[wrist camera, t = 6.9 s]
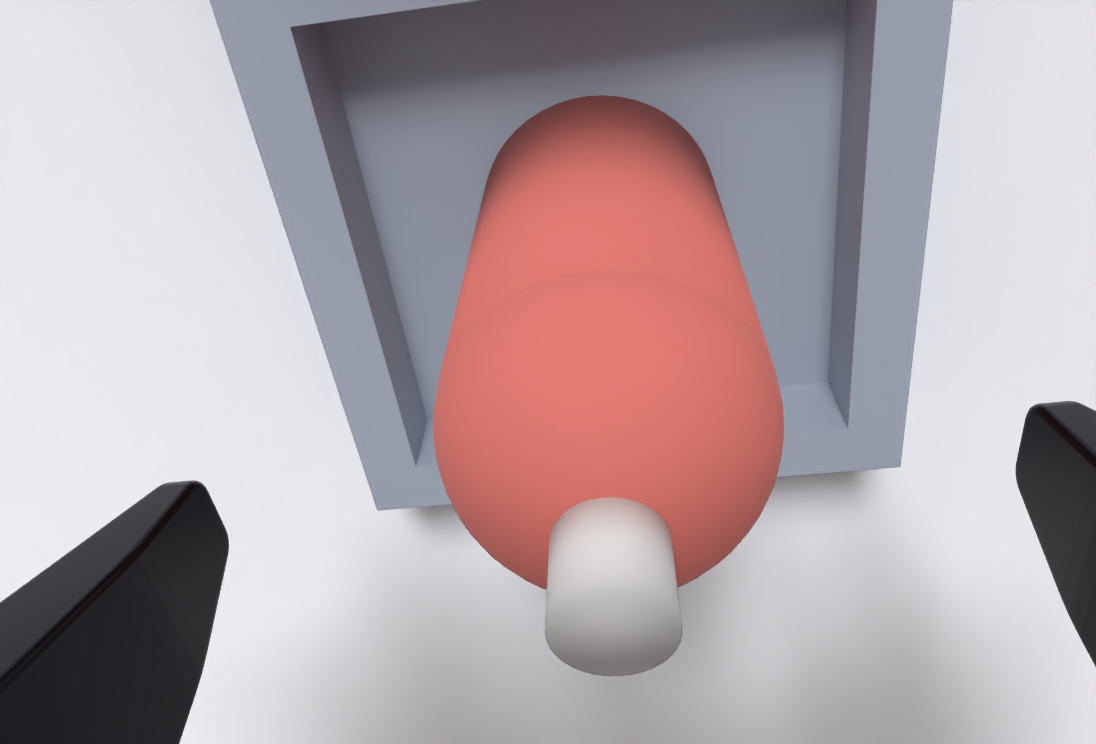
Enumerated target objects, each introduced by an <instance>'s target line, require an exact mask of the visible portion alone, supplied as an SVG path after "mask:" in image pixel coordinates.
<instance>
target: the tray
mask: <svg viewBox="0 0 1096 744" xmlns="http://www.w3.org/2000/svg"><path fill="white" fill-rule="evenodd" d="M210 3H211V6H212V9H213V12H214V15H215V18H216V21H217V24H218V27H219V30H220V33H221V36H222V39H223V42H224V45H225V48H226V52H227V55H228V58H229V61H230V64H231V67H232V70H233V73H234V76H235V79H236V82H237V85H238V88H239V91H240V94H241V97H242V100H243V103H244V106H245V109H246V112H247V115H248V118H249V121H250V125H251V128H252V131H253V134H254V137H255V140H256V143H257V146H258V149H259V152H260V155H261V158H262V161H263V164H264V167H265V170H266V173H267V176H268V179H269V182H270V185H271V188H272V191H273V194H274V197H275V201H276V204H277V207H278V210H279V213H280V216H281V219H282V222H283V225H284V228H285V231H286V234H287V237H288V240H289V243H290V246H291V249H292V252H293V255H294V258H295V261H296V264H297V267H298V270H299V274H300V277H301V280H302V283H303V286H304V289H305V292H306V295H307V298H308V301H309V304H310V307H311V310H312V313H313V316H314V319H315V322H316V325H317V328H318V331H319V334H320V337H321V340H322V343H323V347H324V350H325V353H326V356H327V359H328V362H329V365H330V368H331V371H332V374H333V377H334V380H335V383H336V386H337V389H338V392H339V395H340V398H341V401H342V404H343V407H344V410H345V413H346V416H347V420H348V423H349V426H350V429H351V432H352V435H353V438H354V441H355V444H356V447H357V450H358V453H359V456H360V459H361V462H362V465H363V468H364V471H365V474H366V477H367V480H368V483H369V486H370V489H371V492H372V496H373V499H374V502H375V505H376V508H377V511H378V510H390V509H402V508H414V507H426V506H438V505H450V504H452V503H451V501H450V499H449V497H448V495H447V493H446V490H445V487H444V484H443V481H442V478H441V475H440V472H439V468H438V465H437V459H436V454H435V448H434V437H433V412H434V404H435V398H436V391H437V385H438V380H439V376H440V372H441V368H442V364H443V360H444V356H445V351H446V347H447V343H448V339H449V335H450V331H451V327H452V322H453V318H454V314H455V310H456V306H457V302H458V298H459V293H460V289H461V285H462V281H463V277H464V273H465V269H466V265H467V260H468V256H469V252H470V248H471V244H472V240H473V236H474V231H475V227H476V223H477V219H478V215H479V211H480V207H481V202H482V198H483V194H484V190H485V186H486V182H487V178H488V175H489V172H490V169H491V166H492V164H493V162H494V160H495V158H496V156H497V154H498V152H499V151H500V149H501V148H502V146H503V145H504V143H505V142H506V141H507V140H508V138H509V137H510V136H511V135H512V134H513V133H514V132H515V130H516V129H518V128H519V127H520V126H521V125H522V124H523V123H525V122H526V121H527V120H528V119H530V118H531V117H533V116H534V115H536V114H537V113H539V112H540V111H542V110H544V109H546V108H549V107H551V106H553V105H555V104H557V103H561V102H564V101H567V100H570V99H574V98H580V97H585V96H599V95H606V96H619V97H624V98H629V99H633V100H637V101H640V102H642V103H645V104H648V105H651V106H653V107H655V108H656V109H658V110H660V111H662V112H664V113H666V114H667V115H668V116H670V117H671V118H673V119H674V120H675V121H677V122H678V123H679V124H680V125H681V126H682V127H683V128H684V129H685V130H686V131H687V132H689V134H690V135H691V136H692V138H693V139H694V140H695V141H696V143H697V144H698V145H699V147H700V149H701V151H702V152H703V154H704V156H705V158H706V160H707V163H708V165H709V168H710V170H711V173H712V176H713V179H714V182H715V186H716V189H717V192H718V195H719V198H720V201H721V204H722V207H723V210H724V213H725V217H726V220H727V223H728V226H729V229H730V232H731V235H732V238H733V241H734V244H735V248H736V251H737V254H738V257H739V260H740V263H741V266H742V269H743V272H744V275H745V279H746V282H747V285H748V288H749V291H750V294H751V297H752V300H753V303H754V306H755V310H756V313H757V316H758V319H759V322H760V325H761V328H762V331H763V334H764V337H765V340H766V344H767V347H768V350H769V353H770V356H771V359H772V362H773V365H774V368H775V371H776V375H777V380H778V384H779V388H780V393H781V398H782V403H783V415H784V440H783V449H782V457H781V461H780V465H779V469H778V473H777V477H785V476H797V475H809V474H821V473H833V472H845V471H857V470H869V469H881V468H893V467H900V465H901V456H902V447H903V439H904V430H905V421H906V412H907V403H908V394H909V386H910V377H911V368H912V359H913V350H914V341H915V333H916V324H917V315H918V306H919V297H920V288H921V280H922V271H923V262H924V253H925V244H926V235H927V227H928V218H929V209H930V200H931V191H932V182H933V174H934V165H935V156H936V147H937V138H938V130H939V121H940V112H941V103H942V94H943V85H944V77H945V68H946V59H947V50H948V41H949V32H950V24H951V15H952V6H953V0H210Z"/></svg>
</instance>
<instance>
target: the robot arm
mask: <svg viewBox="0 0 1096 744" xmlns="http://www.w3.org/2000/svg"><path fill="white" fill-rule="evenodd" d="M1016 480H1017V484H1018V488H1019V491H1020V493H1021V496H1022V498H1023V501H1024V504H1025V506H1026V509H1027V511H1028V514H1029V516H1030V519H1031V521H1032V524H1033V527H1034V529H1035V532H1036V534H1037V537H1038V539H1039V542H1040V545H1041V547H1042V550H1043V552H1044V555H1045V557H1046V560H1047V562H1048V565H1049V568H1050V570H1051V573H1052V575H1053V578H1054V580H1055V583H1056V586H1057V588H1058V591H1059V593H1060V596H1061V598H1062V600H1063V603H1064V605H1065V607H1066V610H1067V612H1068V614H1069V616H1070V618H1071V620H1072V622H1073V624H1074V626H1075V628H1076V630H1077V632H1078V634H1079V636H1080V638H1081V640H1082V642H1083V644H1084V646H1085V648H1086V649H1087V651H1088V653H1089V655H1090V657H1091V659H1092V661H1093V662H1094V664H1095V666H1096V411H1095V410H1093V409H1091V408H1089V407H1087V406H1085V405H1082V404H1080V403H1078V402H1074V401H1063V402H1052V403H1041V404H1036V405H1034V406H1033V407H1031V408H1030V409H1029V411H1028V413H1027V415H1026V418H1025V423H1024V428H1023V433H1022V438H1021V443H1020V447H1019V452H1018V457H1017V462H1016ZM228 551H229V540H228V535H227V532H226V529H225V527H224V525H223V522H222V520H221V518H220V516H219V514H218V512H217V510H216V507H215V505H214V503H213V501H212V499H211V497H210V495H209V492H208V491H207V489H206V487H205V486H204V485H203V484H202V483H200V482H198V481H194V480H193V481H181V482H170V483H165V484H162V485H161V486H159V487H158V488H156V489H155V490H153V491H152V492H151V493H149V494H148V495H147V496H145V497H144V498H142V499H141V500H140V501H138V502H137V503H136V504H134V505H133V506H132V507H130V508H129V509H127V510H126V511H125V512H123V513H122V514H121V515H119V516H118V517H116V518H115V519H114V520H112V521H111V522H110V523H108V524H107V525H106V526H104V527H103V528H101V529H100V530H99V531H97V532H96V533H95V534H93V535H92V536H91V537H89V538H88V539H86V540H85V541H84V542H82V543H81V544H80V545H78V546H77V547H75V548H74V549H73V550H71V551H70V552H69V553H67V554H66V555H65V556H63V557H62V558H60V559H59V560H58V561H56V562H55V563H54V564H52V565H51V566H50V567H48V568H47V569H45V570H44V571H43V572H41V573H40V574H39V575H37V576H36V577H34V578H33V579H32V580H30V581H29V582H28V583H26V584H25V585H24V586H22V587H21V588H19V589H18V590H17V591H15V592H14V593H13V594H11V595H10V596H9V597H7V598H6V599H4V600H3V601H2V602H0V744H179V742H180V739H181V736H182V733H183V730H184V727H185V724H186V721H187V718H188V715H189V712H190V709H191V706H192V703H193V700H194V697H195V694H196V691H197V688H198V685H199V681H200V678H201V675H202V671H203V667H204V663H205V659H206V655H207V651H208V646H209V641H210V637H211V632H212V627H213V623H214V618H215V613H216V609H217V604H218V599H219V595H220V590H221V585H222V581H223V576H224V571H225V567H226V562H227V557H228Z"/></svg>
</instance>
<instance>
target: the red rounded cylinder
mask: <svg viewBox="0 0 1096 744" xmlns="http://www.w3.org/2000/svg"><path fill="white" fill-rule="evenodd" d="M433 437H434V448H435V454H436V459H437V465H438V468H439V472H440V475H441V478H442V481H443V484H444V487H445V490H446V493H447V495H448V497H449V499H450V501H451V503H452V505H453V507H454V509H455V510H456V512H457V514H458V516H459V518H460V519H461V521H462V523H463V524H464V525H465V527H466V528H467V530H468V531H469V532H470V534H471V535H472V536H473V537H474V538H475V539H476V541H477V542H478V543H479V544H480V545H481V546H482V547H483V548H484V549H485V550H486V551H487V552H488V553H489V554H490V555H491V556H492V557H493V558H494V559H495V560H497V561H498V562H499V563H500V564H502V565H503V566H504V567H506V568H507V569H509V570H510V571H512V572H514V573H515V574H517V575H518V576H520V577H522V578H523V579H525V580H526V581H528V582H530V583H532V584H534V585H537V586H539V587H541V588H543V589H546V590H547V600H546V622H545V636H546V640H547V643H548V645H549V647H550V649H551V650H552V651H553V653H554V654H555V655H556V656H557V657H558V658H559V659H560V660H562V661H563V662H564V663H566V664H568V665H569V666H571V667H573V668H575V669H578V670H581V671H583V672H587V673H591V674H595V675H602V676H625V675H632V674H637V673H640V672H644V671H647V670H649V669H652V668H654V667H656V666H658V665H660V664H661V663H663V662H664V661H666V660H667V659H668V658H669V657H670V656H671V655H672V654H673V653H674V652H675V650H676V649H677V647H678V646H679V643H680V641H681V637H682V624H681V615H680V607H679V598H678V589H677V587H680V586H682V585H684V584H686V583H688V582H690V581H692V580H694V579H696V578H697V577H699V576H700V575H702V574H703V573H705V572H706V571H708V570H709V569H711V568H712V567H714V566H715V565H716V564H718V563H719V562H720V561H721V560H723V559H724V558H725V557H726V556H727V555H728V554H730V553H731V552H732V551H733V549H734V548H735V547H736V546H737V545H738V544H739V543H740V542H741V540H742V539H743V538H744V537H745V536H746V535H747V533H748V532H749V531H750V530H751V528H752V527H753V525H754V524H755V522H756V521H757V519H758V518H759V516H760V514H761V512H762V510H763V508H764V506H765V504H766V502H767V500H768V498H769V496H770V494H771V491H772V489H773V487H774V483H775V480H776V477H777V473H778V469H779V465H780V461H781V457H782V449H783V440H784V415H783V403H782V398H781V393H780V388H779V384H778V380H777V375H776V371H775V368H774V365H773V362H772V359H771V356H770V353H769V350H768V347H767V344H766V340H765V337H764V334H763V331H762V328H761V325H760V322H759V319H758V316H757V313H756V310H755V306H754V303H753V300H752V297H751V294H750V291H749V288H748V285H747V282H746V279H745V275H744V272H743V269H742V266H741V263H740V260H739V257H738V254H737V251H736V248H735V244H734V241H733V238H732V235H731V232H730V229H729V226H728V223H727V220H726V217H725V213H724V210H723V207H722V204H721V201H720V198H719V195H718V192H717V189H716V186H715V182H714V179H713V176H712V173H711V170H710V168H709V165H708V163H707V160H706V158H705V156H704V154H703V152H702V151H701V149H700V147H699V145H698V144H697V143H696V141H695V140H694V139H693V138H692V136H691V135H690V134H689V132H687V131H686V130H685V129H684V128H683V127H682V126H681V125H680V124H679V123H678V122H677V121H675V120H674V119H673V118H671V117H670V116H668V115H667V114H666V113H664V112H662V111H660V110H658V109H656V108H655V107H653V106H651V105H648V104H645V103H642V102H640V101H637V100H633V99H629V98H624V97H619V96H606V95H599V96H585V97H580V98H574V99H570V100H567V101H564V102H561V103H557V104H555V105H553V106H551V107H549V108H546V109H544V110H542V111H540V112H539V113H537V114H536V115H534V116H533V117H531V118H530V119H528V120H527V121H526V122H525V123H523V124H522V125H521V126H520V127H519V128H518V129H516V130H515V132H514V133H513V134H512V135H511V136H510V137H509V138H508V140H507V141H506V142H505V143H504V145H503V146H502V148H501V149H500V151H499V152H498V154H497V156H496V158H495V160H494V162H493V164H492V166H491V169H490V172H489V175H488V178H487V182H486V186H485V190H484V194H483V198H482V202H481V207H480V211H479V215H478V219H477V223H476V227H475V231H474V236H473V240H472V244H471V248H470V252H469V256H468V260H467V265H466V269H465V273H464V277H463V281H462V285H461V289H460V293H459V298H458V302H457V306H456V310H455V314H454V318H453V322H452V327H451V331H450V335H449V339H448V343H447V347H446V351H445V356H444V360H443V364H442V368H441V372H440V376H439V380H438V385H437V391H436V398H435V404H434V412H433Z"/></svg>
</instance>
